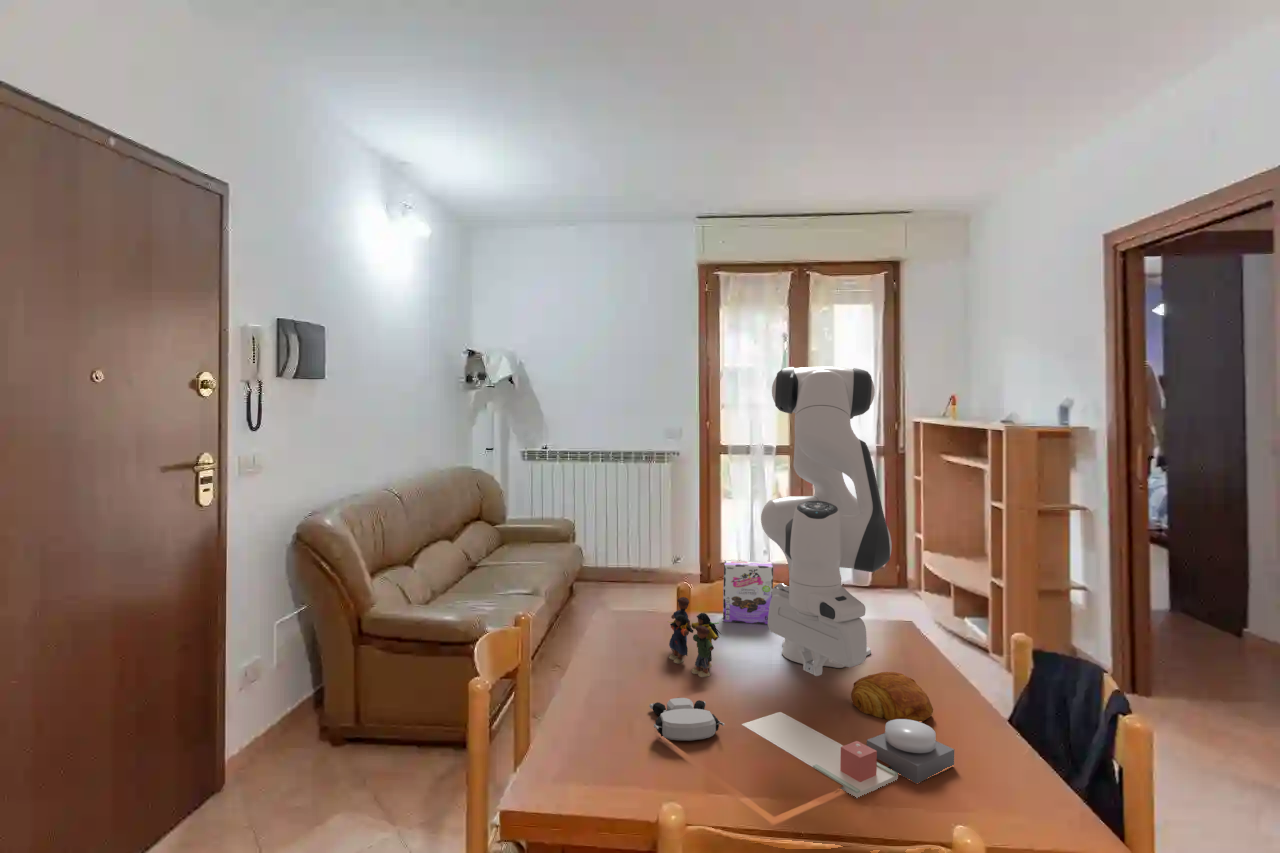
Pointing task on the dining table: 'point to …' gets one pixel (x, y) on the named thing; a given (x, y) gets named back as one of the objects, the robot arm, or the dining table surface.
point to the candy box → (747, 591)
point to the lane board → (816, 751)
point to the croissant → (891, 697)
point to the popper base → (912, 759)
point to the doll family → (703, 638)
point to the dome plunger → (910, 736)
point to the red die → (858, 761)
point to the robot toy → (685, 720)
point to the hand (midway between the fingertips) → (812, 672)
